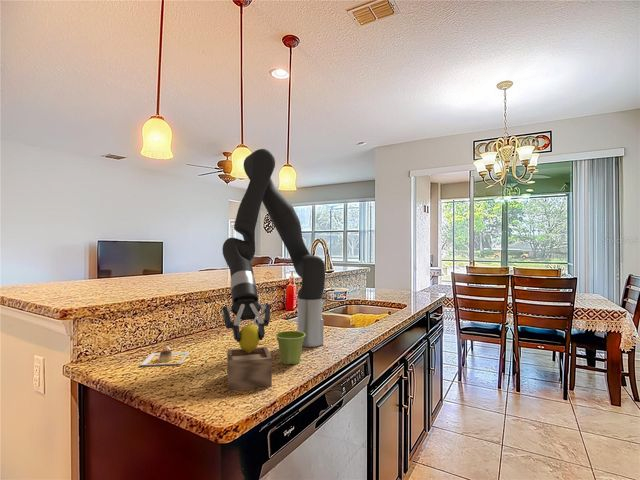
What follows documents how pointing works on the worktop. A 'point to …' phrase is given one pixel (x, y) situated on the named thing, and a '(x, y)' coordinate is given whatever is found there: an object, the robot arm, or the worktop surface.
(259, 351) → the wooden box
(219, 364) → the worktop surface
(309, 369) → the worktop surface
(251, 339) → the lemon
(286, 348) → the plant pot
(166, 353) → the white square frame
